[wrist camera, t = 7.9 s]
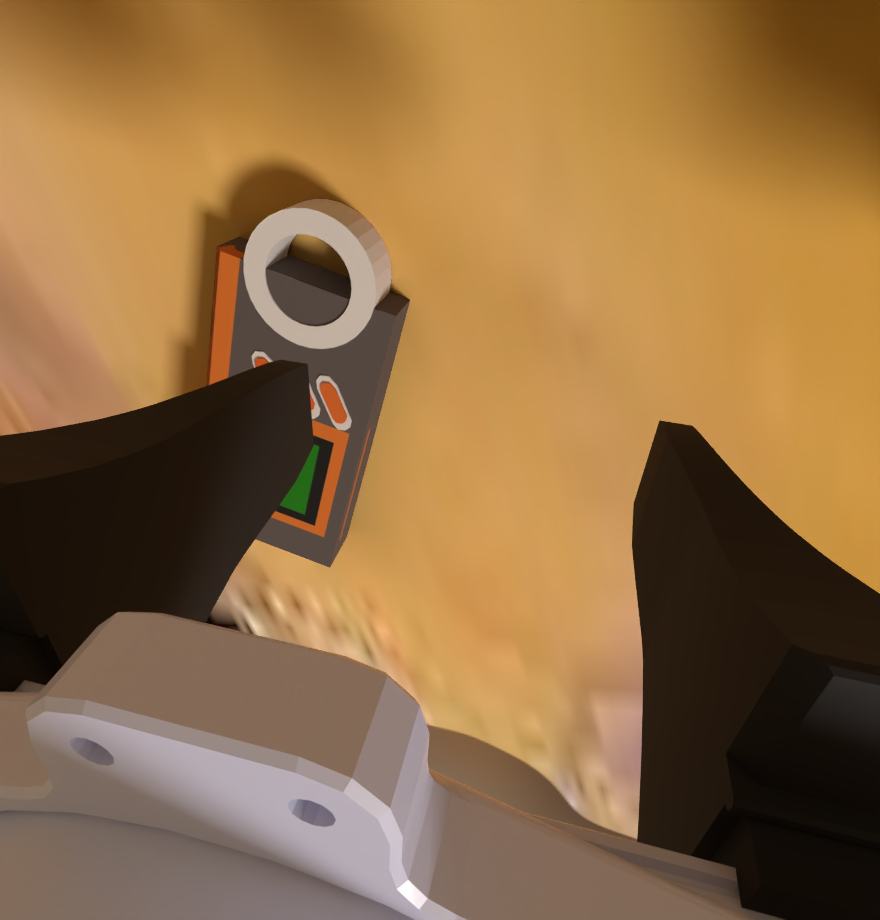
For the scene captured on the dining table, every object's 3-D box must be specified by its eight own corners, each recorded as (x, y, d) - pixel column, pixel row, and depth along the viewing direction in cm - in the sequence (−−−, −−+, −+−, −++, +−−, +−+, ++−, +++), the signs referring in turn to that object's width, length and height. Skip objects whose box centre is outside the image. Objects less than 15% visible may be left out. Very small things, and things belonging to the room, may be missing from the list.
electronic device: (411, 248, 19) (325, 578, 27) (432, 229, 21) (347, 537, 29) (207, 173, 19) (184, 524, 27) (251, 163, 21) (218, 488, 30)
